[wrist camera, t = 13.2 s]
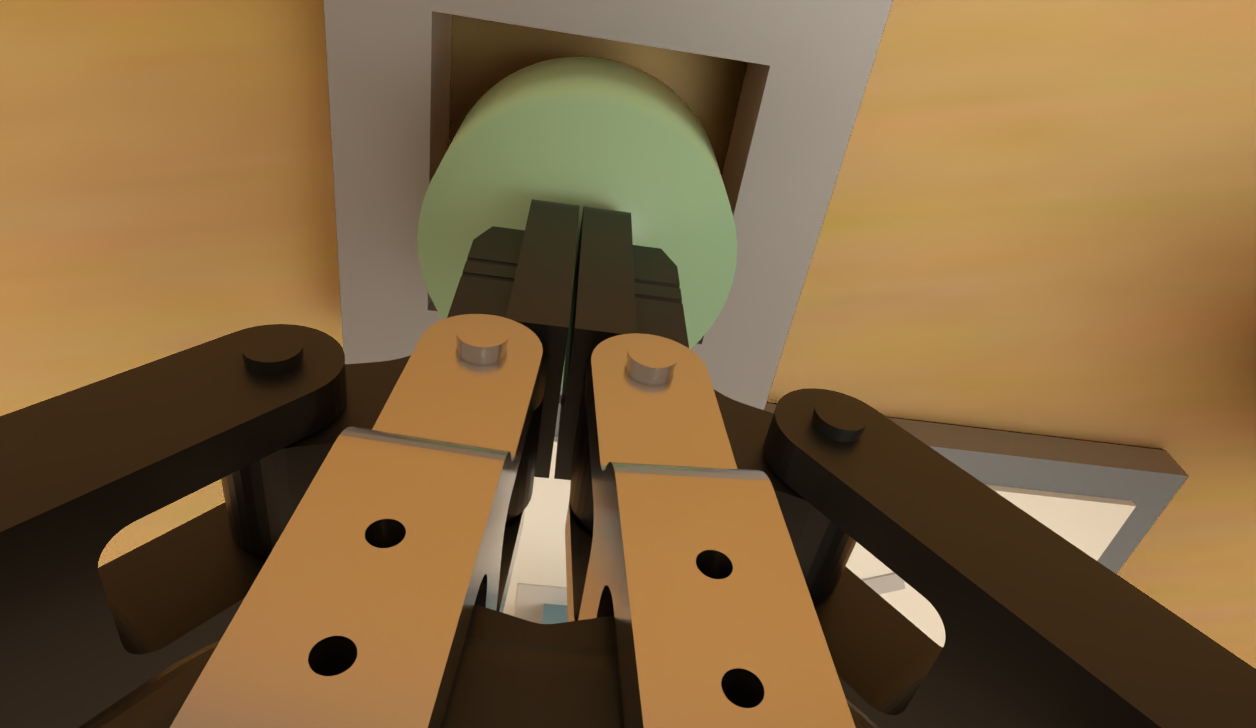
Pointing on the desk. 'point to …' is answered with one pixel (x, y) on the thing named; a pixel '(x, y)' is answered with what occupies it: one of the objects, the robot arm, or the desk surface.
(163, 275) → the desk surface
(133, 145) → the desk surface
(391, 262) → the button housing
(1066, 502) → the whiteboard
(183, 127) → the desk surface
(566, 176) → the button
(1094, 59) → the desk surface
